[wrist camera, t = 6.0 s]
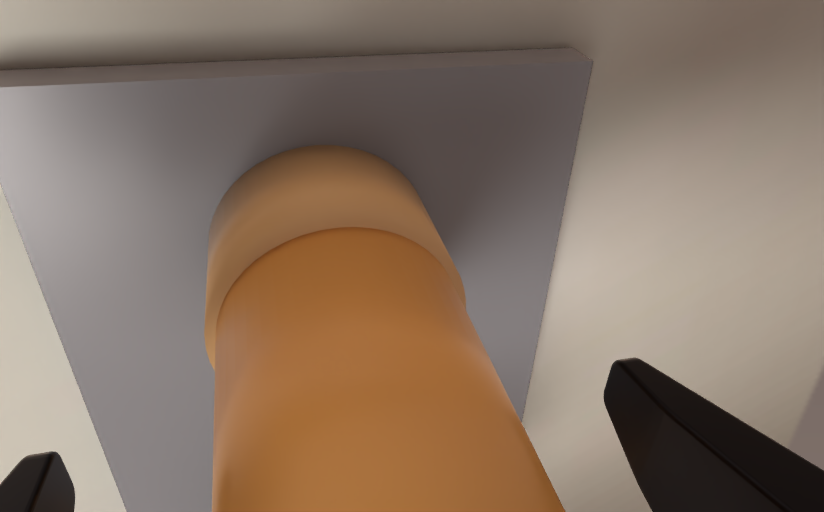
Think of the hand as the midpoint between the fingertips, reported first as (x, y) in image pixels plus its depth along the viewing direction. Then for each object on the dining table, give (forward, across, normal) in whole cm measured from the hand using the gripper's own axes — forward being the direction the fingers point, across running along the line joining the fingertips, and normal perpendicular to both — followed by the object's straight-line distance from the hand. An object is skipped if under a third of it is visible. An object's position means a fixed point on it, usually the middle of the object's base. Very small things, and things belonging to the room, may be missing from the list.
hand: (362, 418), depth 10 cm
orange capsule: (+2, 0, 0) cm, 2 cm away
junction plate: (+6, 0, +4) cm, 7 cm away
